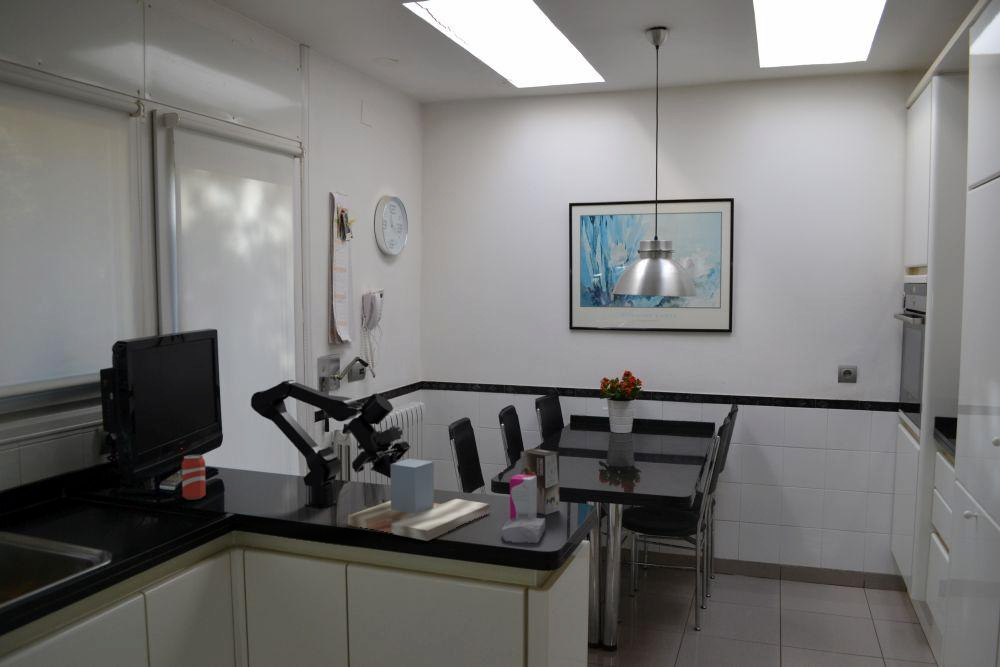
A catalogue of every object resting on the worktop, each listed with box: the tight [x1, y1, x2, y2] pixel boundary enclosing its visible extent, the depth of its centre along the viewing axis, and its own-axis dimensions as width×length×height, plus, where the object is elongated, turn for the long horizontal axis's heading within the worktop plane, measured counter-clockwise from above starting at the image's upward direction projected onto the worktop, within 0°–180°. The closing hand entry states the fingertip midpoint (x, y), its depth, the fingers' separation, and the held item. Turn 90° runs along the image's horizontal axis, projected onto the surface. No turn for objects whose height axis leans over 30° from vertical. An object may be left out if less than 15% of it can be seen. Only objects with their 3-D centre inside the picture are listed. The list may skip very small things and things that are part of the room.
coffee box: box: [520, 448, 560, 515], centre depth 218 cm, size 9×6×16 cm
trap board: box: [347, 498, 491, 542], centre depth 209 cm, size 25×28×2 cm
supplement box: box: [509, 474, 538, 520], centre depth 208 cm, size 6×6×12 cm
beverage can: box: [181, 454, 206, 501], centre depth 231 cm, size 6×6×12 cm
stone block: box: [501, 516, 546, 544], centre depth 195 cm, size 12×5×10 cm
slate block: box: [390, 458, 435, 514], centre depth 210 cm, size 8×8×12 cm
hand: (399, 480), depth 212 cm, fingers closed, pressing on slate block
